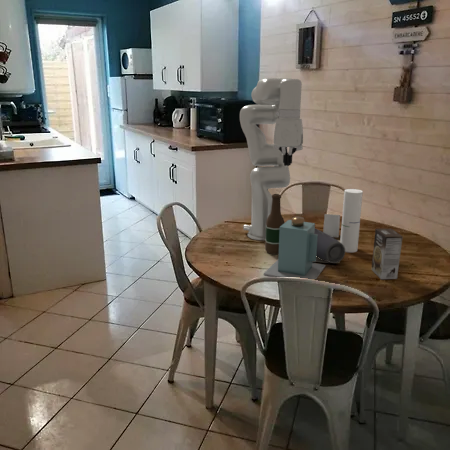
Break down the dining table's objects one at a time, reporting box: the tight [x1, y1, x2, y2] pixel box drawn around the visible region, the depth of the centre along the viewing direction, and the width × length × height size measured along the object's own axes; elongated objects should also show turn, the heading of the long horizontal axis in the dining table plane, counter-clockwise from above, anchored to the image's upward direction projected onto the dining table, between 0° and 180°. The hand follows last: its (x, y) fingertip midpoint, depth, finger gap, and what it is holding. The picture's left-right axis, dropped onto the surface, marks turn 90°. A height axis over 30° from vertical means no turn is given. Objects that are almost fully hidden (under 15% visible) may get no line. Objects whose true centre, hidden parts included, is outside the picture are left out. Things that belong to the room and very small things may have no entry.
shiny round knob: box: [291, 216, 305, 227], centre depth 167 cm, size 7×7×16 cm
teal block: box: [263, 219, 326, 280], centre depth 168 cm, size 18×18×18 cm
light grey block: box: [322, 213, 341, 238], centre depth 208 cm, size 4×7×10 cm, turn 79°
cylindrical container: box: [339, 188, 364, 253], centre depth 189 cm, size 7×7×25 cm
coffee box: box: [371, 228, 403, 280], centre depth 165 cm, size 9×6×16 cm
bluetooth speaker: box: [314, 228, 346, 264], centre depth 183 cm, size 23×9×10 cm, turn 20°
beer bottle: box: [264, 193, 286, 255], centre depth 186 cm, size 8×8×24 cm
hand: (287, 165), depth 171 cm, fingers closed
